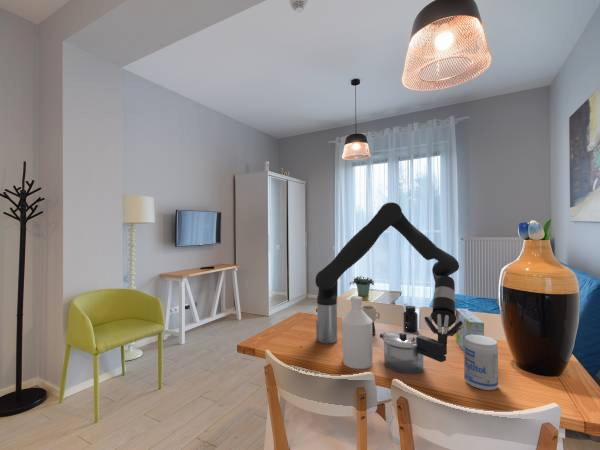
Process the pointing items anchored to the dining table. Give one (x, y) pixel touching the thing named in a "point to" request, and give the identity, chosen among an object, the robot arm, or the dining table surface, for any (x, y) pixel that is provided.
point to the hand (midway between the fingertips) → (442, 345)
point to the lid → (415, 342)
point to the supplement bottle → (410, 319)
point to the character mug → (371, 314)
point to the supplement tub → (481, 362)
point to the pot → (407, 358)
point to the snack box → (468, 325)
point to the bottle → (357, 337)
